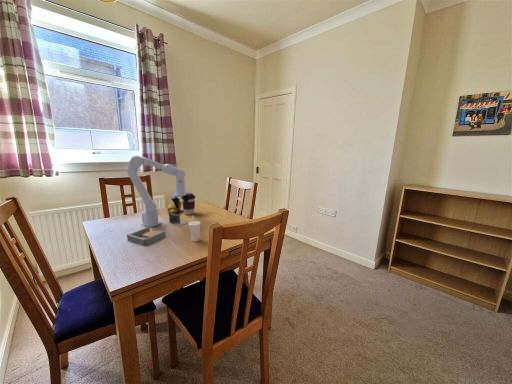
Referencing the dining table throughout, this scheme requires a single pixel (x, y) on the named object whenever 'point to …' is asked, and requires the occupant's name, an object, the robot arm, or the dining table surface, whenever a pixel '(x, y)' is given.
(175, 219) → the turner
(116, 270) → the dining table surface
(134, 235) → the frame
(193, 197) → the coffee cup
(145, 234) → the tile
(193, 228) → the smoothie
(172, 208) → the bread roll
